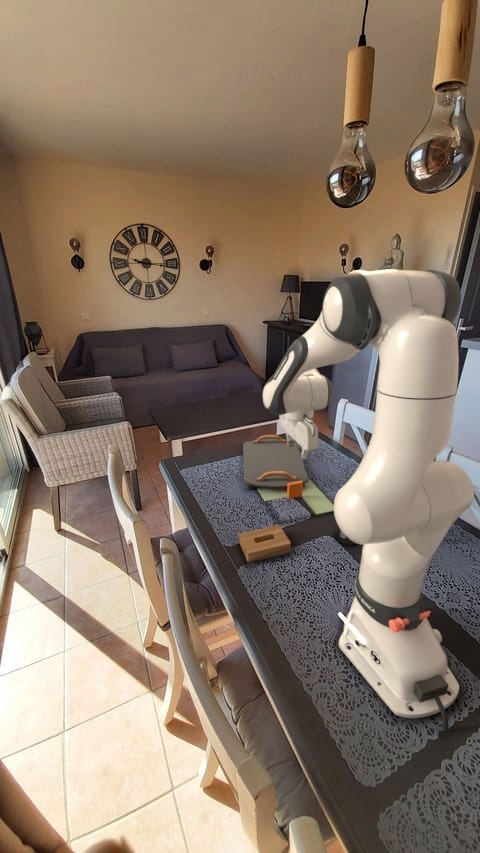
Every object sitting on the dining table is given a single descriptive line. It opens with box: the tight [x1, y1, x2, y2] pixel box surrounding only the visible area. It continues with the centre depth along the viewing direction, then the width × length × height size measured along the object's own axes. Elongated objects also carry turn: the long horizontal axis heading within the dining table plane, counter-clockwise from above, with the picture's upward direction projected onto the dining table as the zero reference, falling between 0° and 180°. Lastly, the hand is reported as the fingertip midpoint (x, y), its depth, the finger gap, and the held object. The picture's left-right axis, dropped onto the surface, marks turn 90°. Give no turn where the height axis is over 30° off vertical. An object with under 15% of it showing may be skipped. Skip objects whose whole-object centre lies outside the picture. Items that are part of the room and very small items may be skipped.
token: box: [286, 481, 303, 500], centre depth 119 cm, size 1×5×6 cm, turn 107°
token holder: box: [238, 524, 292, 563], centre depth 98 cm, size 8×12×4 cm, turn 107°
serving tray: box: [242, 434, 310, 490], centre depth 139 cm, size 39×23×6 cm, turn 0°
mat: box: [256, 477, 334, 516], centre depth 120 cm, size 20×20×1 cm
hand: (297, 451), depth 113 cm, fingers open, 8 cm apart
